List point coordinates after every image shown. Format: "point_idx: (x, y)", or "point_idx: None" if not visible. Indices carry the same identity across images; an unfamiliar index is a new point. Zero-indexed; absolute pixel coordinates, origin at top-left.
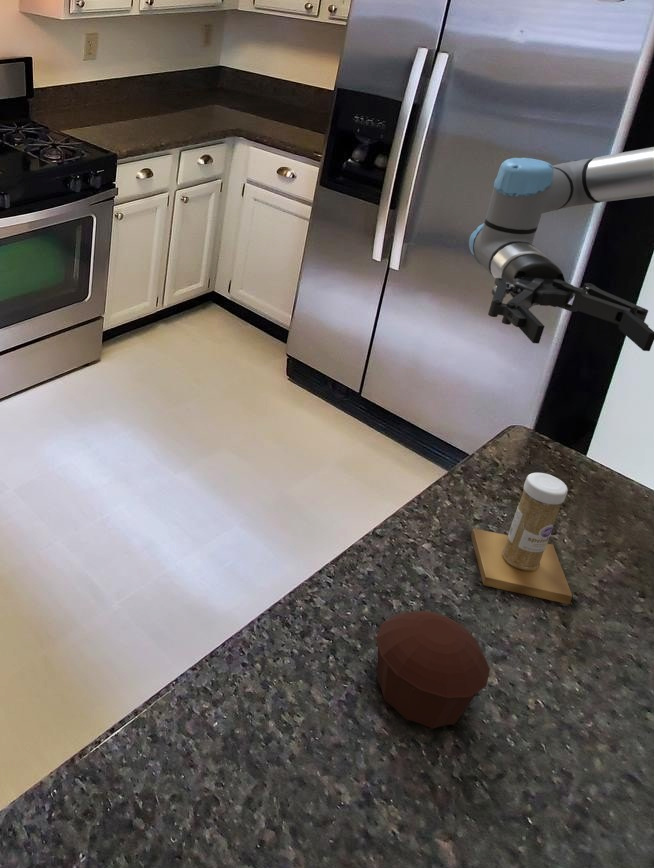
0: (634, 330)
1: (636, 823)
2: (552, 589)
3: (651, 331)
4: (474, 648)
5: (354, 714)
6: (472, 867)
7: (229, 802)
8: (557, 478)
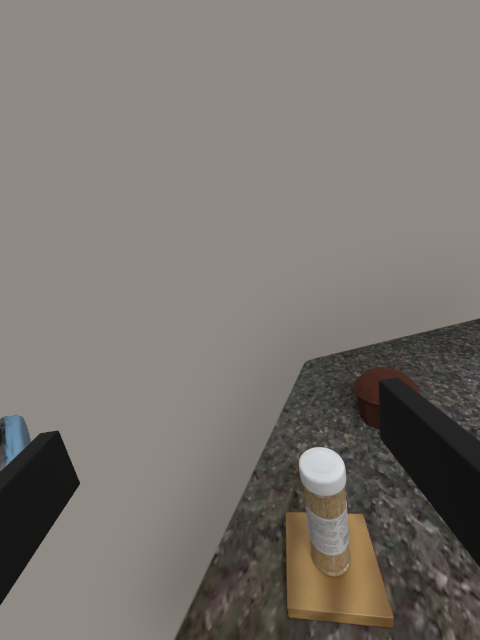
0: (4, 535)
1: (289, 397)
2: (302, 516)
3: (38, 441)
4: (363, 378)
5: None
6: (348, 373)
7: (437, 364)
8: (308, 474)
